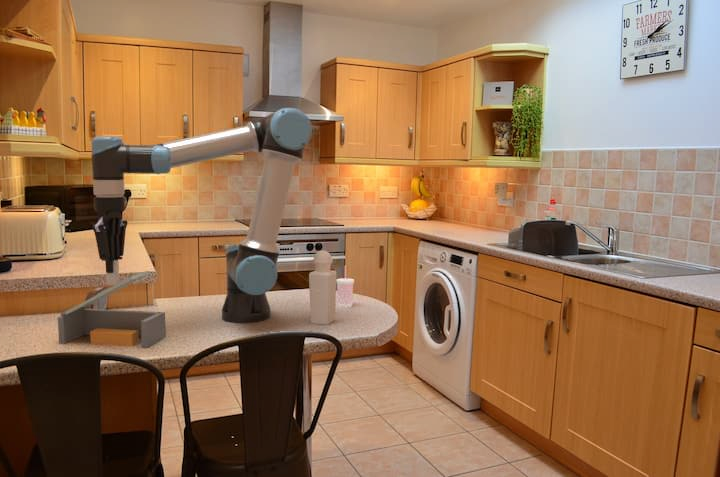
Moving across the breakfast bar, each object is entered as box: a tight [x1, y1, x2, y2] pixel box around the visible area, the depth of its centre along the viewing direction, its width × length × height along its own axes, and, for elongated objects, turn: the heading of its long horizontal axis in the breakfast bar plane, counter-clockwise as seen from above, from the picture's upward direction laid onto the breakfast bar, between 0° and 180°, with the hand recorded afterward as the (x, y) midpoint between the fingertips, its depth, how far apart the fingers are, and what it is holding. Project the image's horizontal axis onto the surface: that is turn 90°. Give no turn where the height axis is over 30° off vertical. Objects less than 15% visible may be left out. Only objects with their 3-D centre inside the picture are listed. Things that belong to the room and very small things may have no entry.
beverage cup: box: [336, 264, 355, 308], centre depth 200 cm, size 6×6×14 cm
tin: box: [84, 285, 110, 310], centre depth 188 cm, size 15×3×8 cm, turn 5°
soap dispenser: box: [308, 250, 338, 326], centre depth 178 cm, size 6×6×22 cm
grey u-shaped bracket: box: [57, 309, 167, 349], centre depth 159 cm, size 25×10×7 cm, turn 81°
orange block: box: [89, 328, 140, 347], centre depth 157 cm, size 12×3×4 cm, turn 80°
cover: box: [60, 270, 151, 317], centre depth 158 cm, size 23×9×1 cm, turn 81°
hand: (112, 284), depth 158 cm, fingers closed
